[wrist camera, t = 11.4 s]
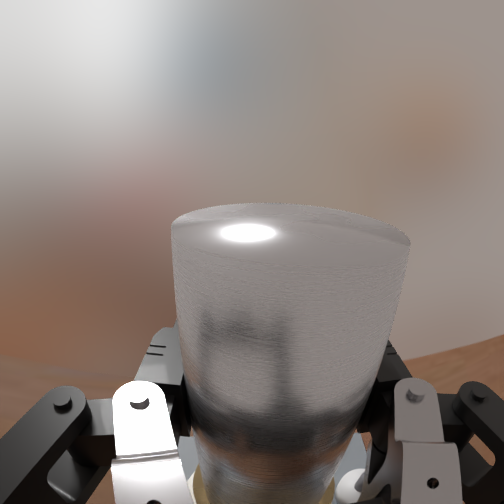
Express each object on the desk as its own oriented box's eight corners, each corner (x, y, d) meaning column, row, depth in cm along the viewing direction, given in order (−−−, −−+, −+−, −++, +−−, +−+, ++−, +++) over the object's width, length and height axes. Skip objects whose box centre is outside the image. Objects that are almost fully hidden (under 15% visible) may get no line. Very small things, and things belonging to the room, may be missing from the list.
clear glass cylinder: (190, 544, 7) (86, 273, 3) (202, 443, 13) (181, 198, 9) (337, 539, 7) (496, 279, 4) (318, 442, 13) (369, 206, 9)
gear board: (118, 558, 7) (99, 547, 6) (149, 434, 15) (140, 410, 14) (393, 554, 7) (415, 541, 6) (358, 436, 16) (369, 411, 15)
